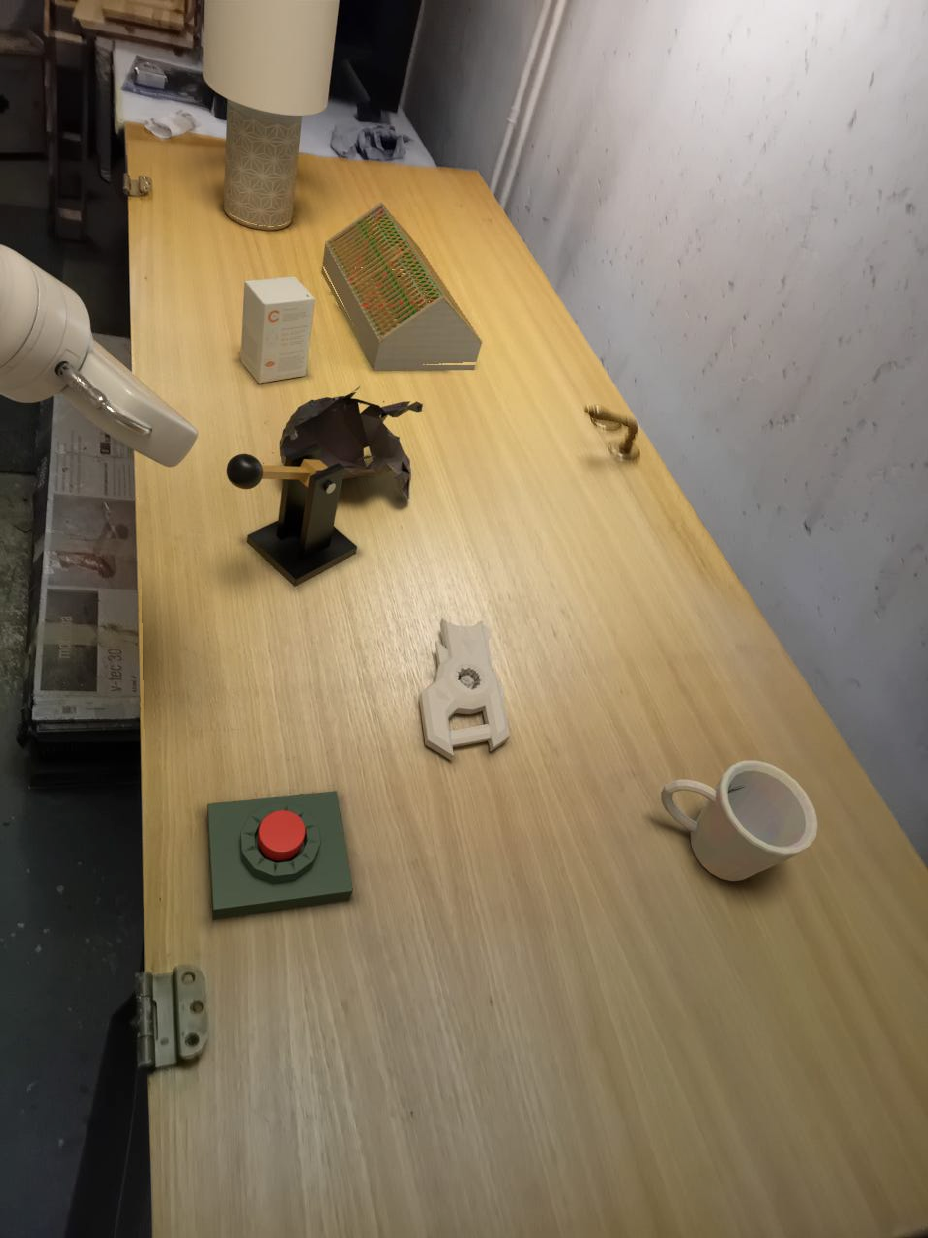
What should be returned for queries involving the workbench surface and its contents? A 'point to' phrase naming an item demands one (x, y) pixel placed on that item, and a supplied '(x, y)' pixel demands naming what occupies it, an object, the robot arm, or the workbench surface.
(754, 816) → the mug
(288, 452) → the crumpled paper
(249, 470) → the lever
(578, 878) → the workbench surface
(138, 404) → the robot arm
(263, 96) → the lamp
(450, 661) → the beige holed clip
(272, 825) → the button
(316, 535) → the black lever stand
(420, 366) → the grey sloped slatted box
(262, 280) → the small box
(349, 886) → the button box
